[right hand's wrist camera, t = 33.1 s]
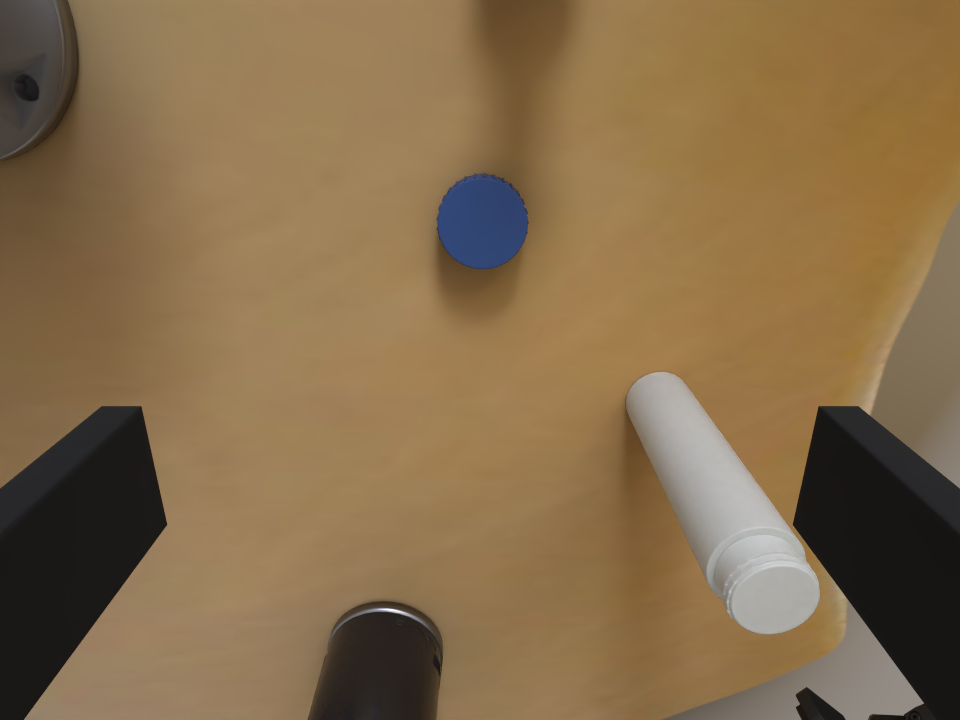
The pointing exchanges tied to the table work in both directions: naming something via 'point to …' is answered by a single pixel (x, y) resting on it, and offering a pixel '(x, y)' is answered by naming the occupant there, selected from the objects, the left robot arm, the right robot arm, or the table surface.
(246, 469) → the table surface
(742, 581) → the jar
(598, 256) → the table surface
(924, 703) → the right robot arm
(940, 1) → the table surface
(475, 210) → the lid
